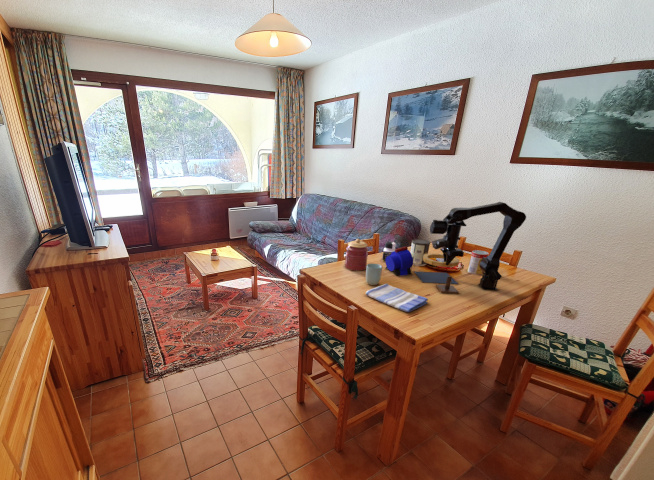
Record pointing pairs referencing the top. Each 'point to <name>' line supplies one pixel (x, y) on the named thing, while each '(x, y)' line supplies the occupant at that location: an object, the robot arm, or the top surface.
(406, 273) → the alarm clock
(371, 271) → the cup
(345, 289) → the top surface
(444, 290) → the peg stand
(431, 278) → the felt mat
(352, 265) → the kitchen canister
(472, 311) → the top surface
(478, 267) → the canned food
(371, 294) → the dish towel
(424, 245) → the coffee can
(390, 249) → the medicine bottle
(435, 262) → the hoop
